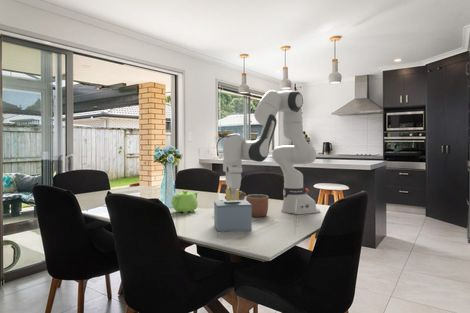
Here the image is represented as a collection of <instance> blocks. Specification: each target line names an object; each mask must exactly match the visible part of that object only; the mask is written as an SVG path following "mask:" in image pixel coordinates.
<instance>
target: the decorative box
mask: <svg viewBox="0 0 470 313" xmlns="http://www.w3.org/2000/svg"><path fill="white" fill-rule="evenodd" d="M246 196H247V195H246V192H245V191H242V190H239V200H245V199H246ZM224 200H226V195H225V196H224ZM228 201H231V200H228Z"/></svg>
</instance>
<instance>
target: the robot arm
mask: <svg viewBox="0 0 470 313" xmlns="http://www.w3.org/2000/svg"><path fill="white" fill-rule="evenodd" d="M303 104H304V99H303V95H302V93H300V92H299V91H297V90H282V91H276V90H274V89H273V90H271V89H270V90H268V91H266V92H265V94H264V95H263V96H262V97H261V99H260V100H259V102H258V104H257V105H256V107H255V109H254V111H253V112H254V113H253V116H254V118H255V120H256V122H257V123H258V124H259V125H261V126H262V129H261V132H260V135H259V137H258V138H257V139H255V140H247V139H245V138H243V137H242V136H241V134H240V133H237V132H236V133H228V134H226V135H225V136H224V138H223V142H222V143H223V144H222V146H223V147H222V154H223V159H222V171H223V172H224V173H225V185H226V186H227V187H228V189H231V197H235V192H236V190H237V189H239V190H240V188H241V185H242V184H241V183H242V173H243V167H242V163H243V161H252V162H257V163H258V162H259V163H261V162H264V161H265V160H266V159H267V158H268V155H269V152H270V147H271V143H272V140H273V136H274V135H275V130H276V127H277V123H278V122H277V121H278V120H277V115H278V113H279V112H280V113H281V112H283V114H282V125H283V126H282V129H283V130H282V131H283V137H284V138H286V139H287V140H289V141H291V142H292V143H293V145H278V146H275V147H274V148H273V150H272V153H271V157H272V159H273V161H274V162H275V163H276V164H277V165H278V166H279V167H280V169H281V171H282V173H283V174H282V175H283V181H284V182H283V186H284V187H283V190H282V191H283V192H282V194H283V201H282V202H283V203H282V206H281V209H280V210H281V212H283V213H287V214H288V213H289V214H295V215H307V214H317V213H321V209H319V208H318V207H317V204H316V200H314V199H313V198H312V197H311V196H309V195H308V193H309V192H310V189H309V188H307V187H306V188H305V187H304V174H303V173H302V172H301V171H300V170H298V169H296V168H295V166H294V165H308V164H312V163H313V164H314V162H315V160H316V158H317V151H316V149H315V148H314V147H313V146H312V145H310V144H309V143H308V141H307V140H306V137H305V134H304V127H303V114H302V106H303Z"/></svg>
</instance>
